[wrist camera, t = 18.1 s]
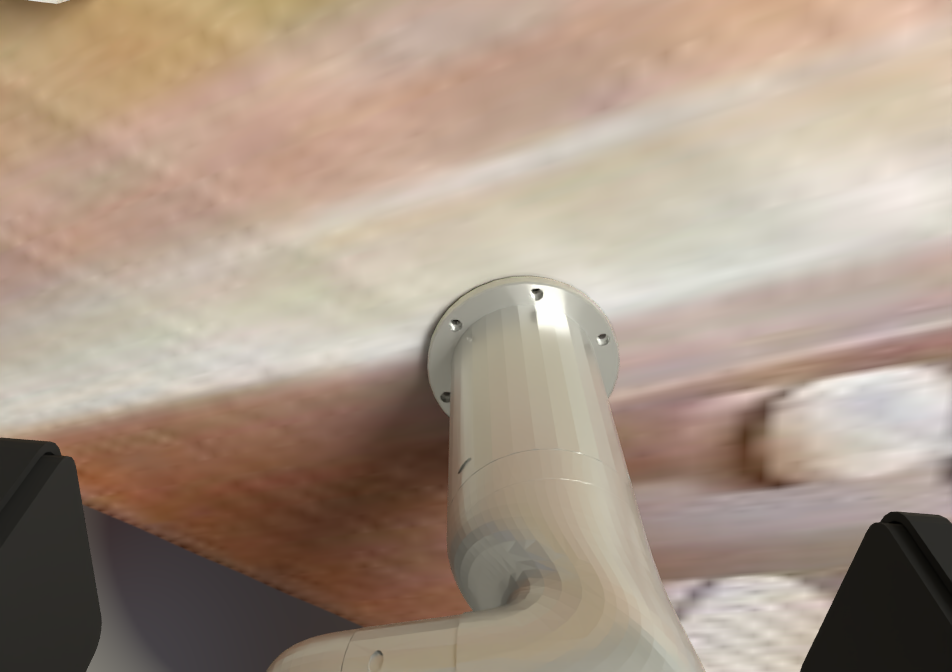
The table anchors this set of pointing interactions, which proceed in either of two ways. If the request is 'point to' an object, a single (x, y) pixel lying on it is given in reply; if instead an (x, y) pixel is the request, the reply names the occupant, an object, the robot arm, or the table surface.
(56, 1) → the holder sleeve
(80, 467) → the table surface
